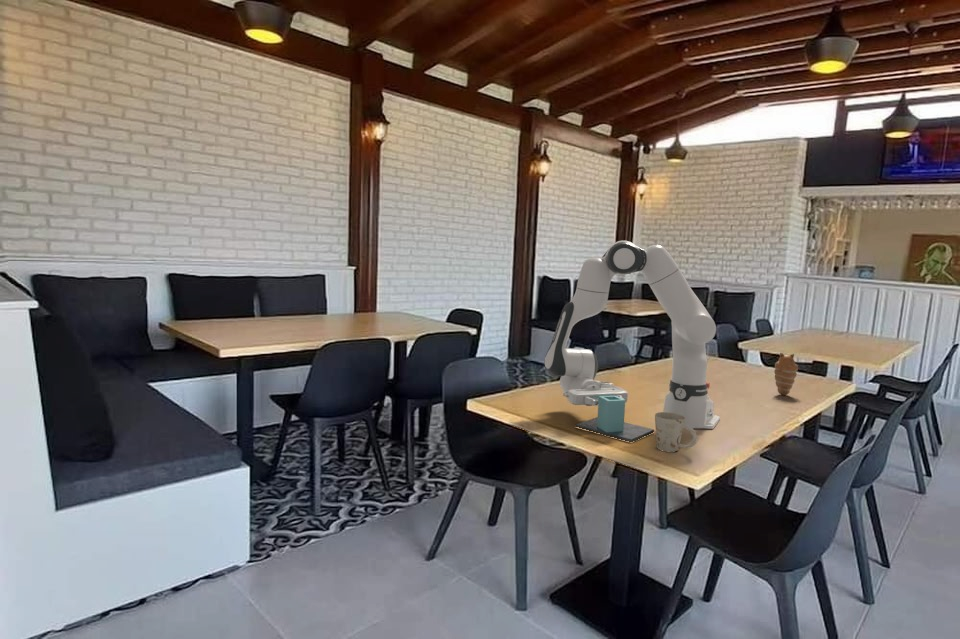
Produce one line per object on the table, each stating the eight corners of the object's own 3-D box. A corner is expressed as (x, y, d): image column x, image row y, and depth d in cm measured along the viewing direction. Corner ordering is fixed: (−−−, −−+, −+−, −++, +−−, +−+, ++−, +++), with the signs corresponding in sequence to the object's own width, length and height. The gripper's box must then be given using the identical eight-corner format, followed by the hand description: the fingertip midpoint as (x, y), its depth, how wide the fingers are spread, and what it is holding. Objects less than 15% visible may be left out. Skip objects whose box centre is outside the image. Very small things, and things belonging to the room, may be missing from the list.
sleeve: (597, 426, 187) (598, 396, 186) (613, 425, 189) (615, 395, 188) (606, 432, 181) (608, 400, 180) (623, 431, 183) (625, 400, 182)
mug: (659, 442, 177) (661, 410, 176) (701, 452, 169) (703, 418, 168) (648, 449, 170) (650, 415, 169) (691, 459, 163) (693, 424, 161)
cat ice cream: (773, 396, 244) (777, 353, 242) (770, 392, 251) (774, 350, 249) (796, 398, 241) (801, 355, 239) (793, 394, 249) (797, 352, 247)
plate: (599, 419, 200) (600, 401, 199) (653, 433, 186) (655, 413, 186) (575, 428, 189) (576, 408, 188) (631, 443, 175) (632, 422, 174)
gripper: (561, 384, 195) (580, 394, 182) (615, 382, 201) (637, 391, 188) (560, 402, 195) (579, 413, 182) (614, 400, 202) (636, 410, 189)
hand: (609, 402), depth 185 cm, fingers open, 8 cm apart
